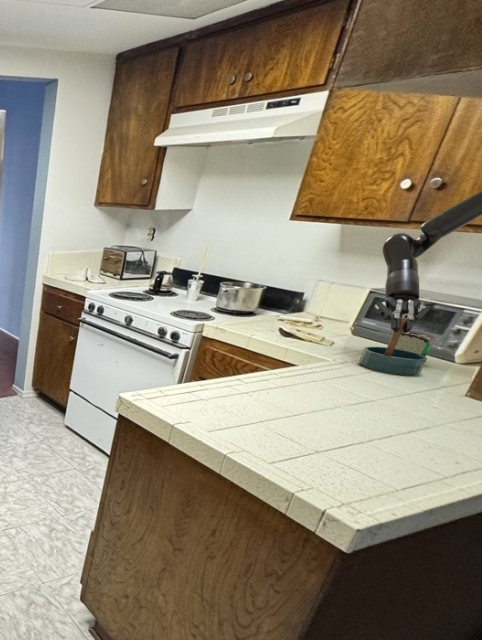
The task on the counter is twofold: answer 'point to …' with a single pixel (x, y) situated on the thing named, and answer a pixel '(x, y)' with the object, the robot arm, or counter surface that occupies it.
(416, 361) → the bowl
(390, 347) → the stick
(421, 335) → the sandwich
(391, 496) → the counter surface
